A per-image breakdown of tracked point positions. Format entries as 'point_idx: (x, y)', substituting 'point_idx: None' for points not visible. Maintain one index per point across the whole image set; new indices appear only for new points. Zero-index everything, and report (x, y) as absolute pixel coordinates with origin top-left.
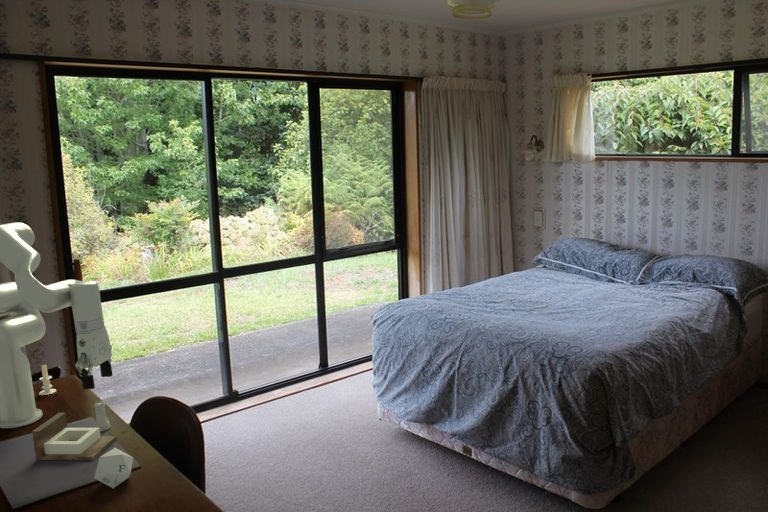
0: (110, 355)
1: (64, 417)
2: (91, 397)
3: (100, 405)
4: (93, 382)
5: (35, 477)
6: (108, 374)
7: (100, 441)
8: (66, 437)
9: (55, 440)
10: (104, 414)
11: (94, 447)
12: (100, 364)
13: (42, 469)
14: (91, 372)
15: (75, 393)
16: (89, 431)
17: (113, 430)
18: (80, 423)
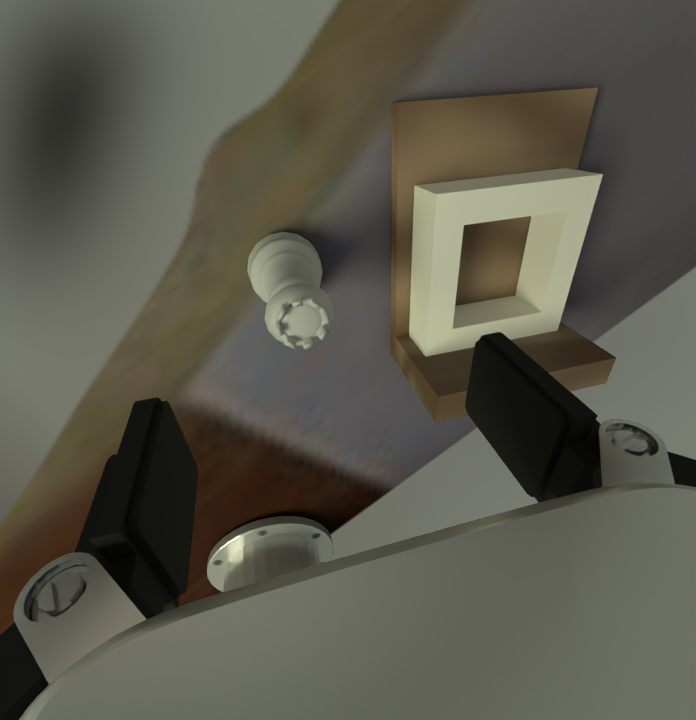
0: (119, 692)
1: (443, 383)
2: (9, 525)
3: (320, 300)
4: (527, 361)
5: (644, 242)
6: (170, 432)
7: (452, 157)
8: (454, 315)
9: (530, 312)
10: (292, 272)
11: (508, 147)
12: (172, 598)
13: (597, 259)
14: (599, 450)
15: (13, 587)
16: (474, 219)
17: (291, 197)
18: (253, 391)
